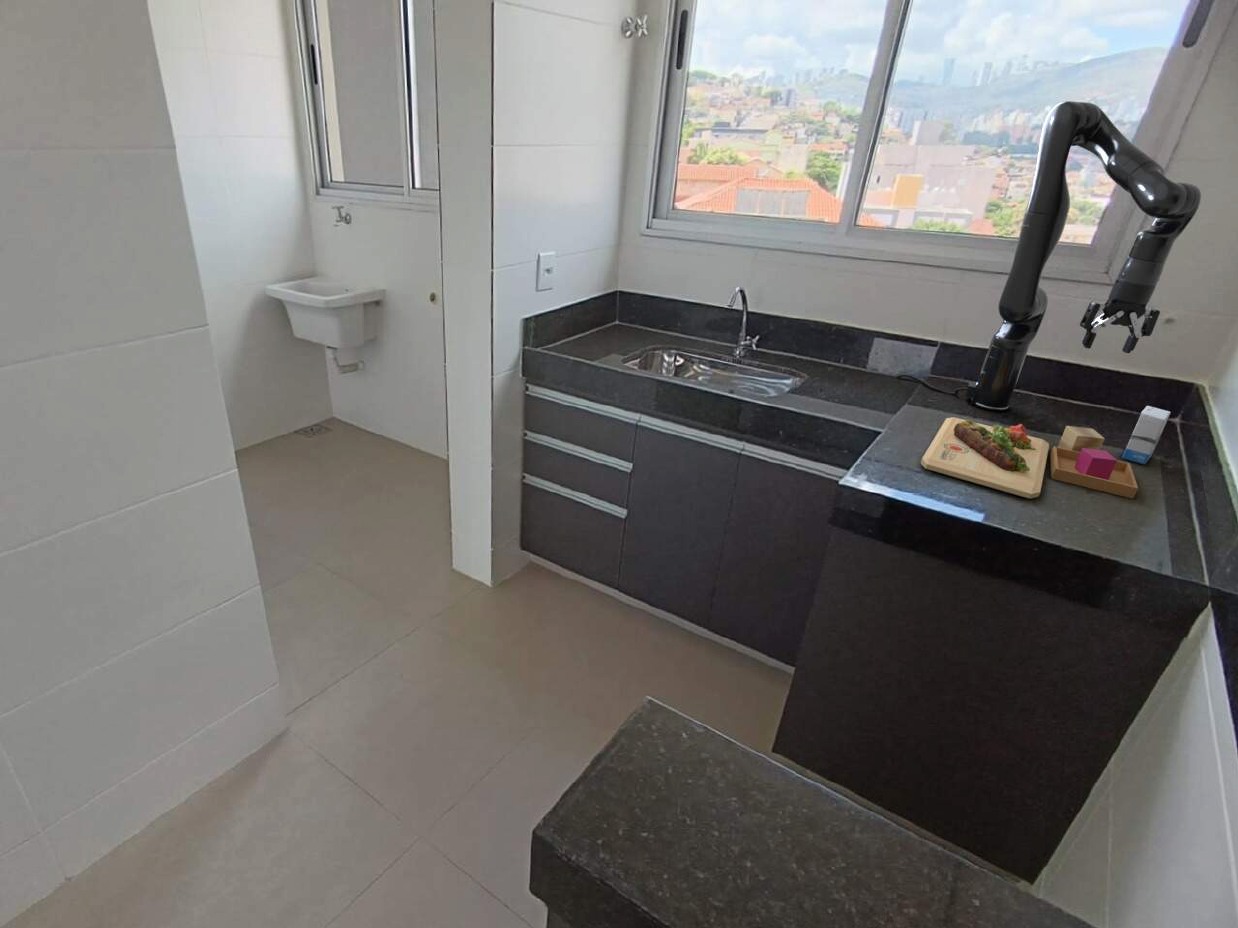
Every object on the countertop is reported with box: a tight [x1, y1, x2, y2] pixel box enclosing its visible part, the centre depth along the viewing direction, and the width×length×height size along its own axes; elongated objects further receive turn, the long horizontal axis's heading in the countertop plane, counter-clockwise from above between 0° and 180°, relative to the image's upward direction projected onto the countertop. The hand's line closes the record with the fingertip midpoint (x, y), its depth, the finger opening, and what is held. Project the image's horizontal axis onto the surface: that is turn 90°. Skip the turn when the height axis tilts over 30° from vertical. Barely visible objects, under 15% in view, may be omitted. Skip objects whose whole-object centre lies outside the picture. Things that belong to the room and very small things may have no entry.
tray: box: [1049, 445, 1139, 500], centre depth 147 cm, size 15×14×3 cm
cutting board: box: [920, 417, 1050, 500], centre depth 152 cm, size 35×23×8 cm
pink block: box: [1074, 448, 1118, 480], centre depth 147 cm, size 5×5×5 cm
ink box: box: [1121, 405, 1172, 466], centre depth 157 cm, size 9×5×12 cm, turn 135°
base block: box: [1057, 425, 1105, 452], centre depth 157 cm, size 6×6×6 cm
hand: (1105, 349), depth 153 cm, fingers open, 8 cm apart
